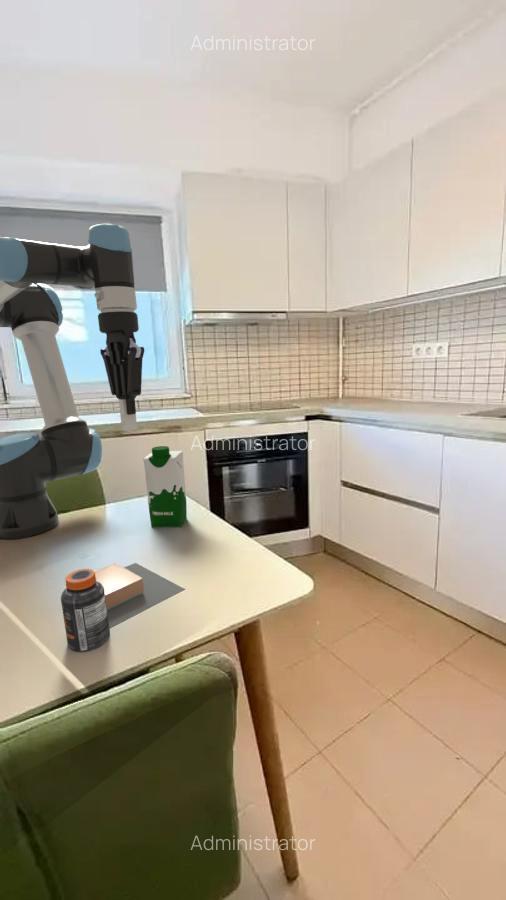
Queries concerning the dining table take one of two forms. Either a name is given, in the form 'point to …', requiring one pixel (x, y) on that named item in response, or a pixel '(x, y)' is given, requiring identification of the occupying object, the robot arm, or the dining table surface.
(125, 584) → the tile
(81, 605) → the pill bottle
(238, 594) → the dining table surface
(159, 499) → the milk carton
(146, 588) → the mat
